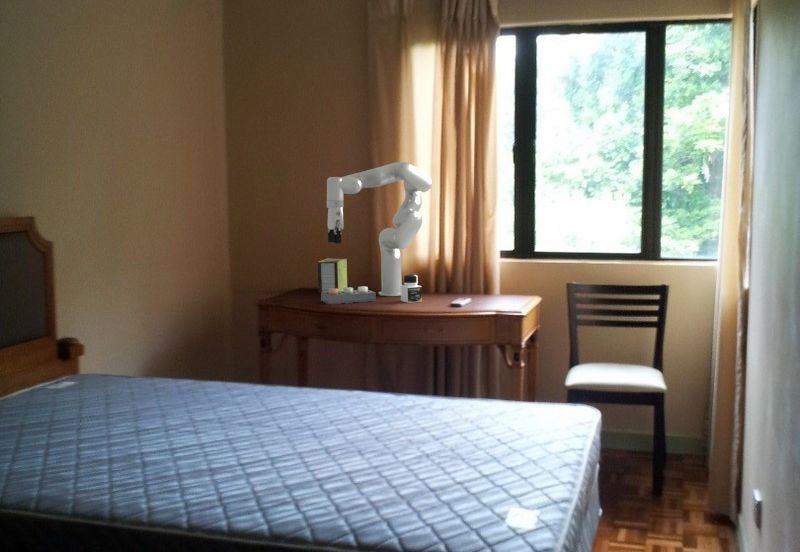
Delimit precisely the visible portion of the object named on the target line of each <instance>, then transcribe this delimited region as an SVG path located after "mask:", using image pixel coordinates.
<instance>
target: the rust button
mask: <svg viewBox="0 0 800 552" xmlns="http://www.w3.org/2000/svg"><path fill="white" fill-rule="evenodd" d="M329 294H338V289H337V288H332V289H329Z"/></svg>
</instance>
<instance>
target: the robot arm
mask: <svg viewBox="0 0 800 552" xmlns="http://www.w3.org/2000/svg"><path fill="white" fill-rule="evenodd" d="M399 181H403V188H404V189H403V190H404V192H405V195H404V200H403V201H402V203H401V205H400V206H399V208H398V209H397V211H396V213H395V214H394V216H393V219H392V225H393V226H394V227H387V228H383V230H381V231H380V233H379V236H378V242H379V243H378V244H379V249H380V261H381V262H380V266H381V267H380V269H381V291H379V292H378V295H379V296H380V297H401V285H403V284H402V282H403V281H402V278H403V277H402V254H401V251H400V250H405V249H406V248H408V247H409V246H410V245H411V243H412V242H413V240H414V238H415V237H416V235H417V234H418V232H419V231H420V229H421V227H422V224H423V217H422V214H421V213H420V209H421V207H422V203H423V199H422V198H423V197H422V193H426V192H428V191H429V190H430V189H431V188H432V186H433V181H432V178H431V177H430V175H429V174H427V173H426V172H424V171H422V170H421V169H419V168H418V167H416V166H415V165H413V164H412V163H410V162H407V161H405V162H404V161H402V162H401V161H399V162H392V163H389V164H385V165H382V166H379V167H375V168H370V169H368V170H363V171H360V172H355V173H352V174H349V175H345V176H342V177H340V176H329V177H328V178H327V179H326V208H328V209H327V211H328V212H327V230H328V231H327V242H328V243H334V244H342V231H343V230H344V212H343V209H344V200H345V199H344V195H345V194H349V195H355V194H357V193H358V194H359V192H360V191H361V190H362V189H366V188H367V189H369V188H377V187H381V186H385V185H389V184H392V183H394V182H399Z"/></svg>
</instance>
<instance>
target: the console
mask: <svg viewBox="0 0 800 552" xmlns="http://www.w3.org/2000/svg"><path fill="white" fill-rule="evenodd" d="M320 296H321V297H320V301H321V302H322V301H323V302H322V303H324V302H325V304H327V305H330V304H331V305H341V303H345V304H354V303H353V302H359V303H369V302H368V301H372V302H377V297H376V296H377V295H376V291H373V290H369V289H368V292H358V289H353V293H343V291H338V294H329V292H321V293H320Z"/></svg>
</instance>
